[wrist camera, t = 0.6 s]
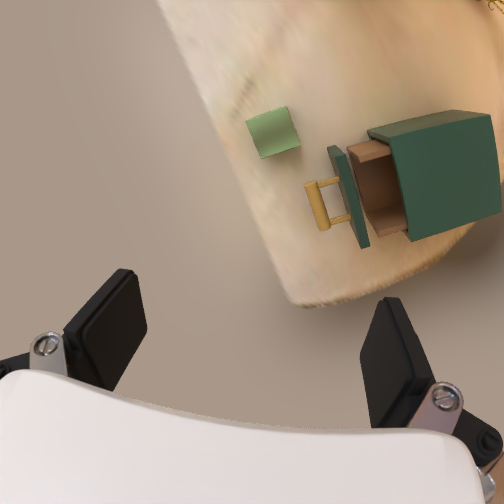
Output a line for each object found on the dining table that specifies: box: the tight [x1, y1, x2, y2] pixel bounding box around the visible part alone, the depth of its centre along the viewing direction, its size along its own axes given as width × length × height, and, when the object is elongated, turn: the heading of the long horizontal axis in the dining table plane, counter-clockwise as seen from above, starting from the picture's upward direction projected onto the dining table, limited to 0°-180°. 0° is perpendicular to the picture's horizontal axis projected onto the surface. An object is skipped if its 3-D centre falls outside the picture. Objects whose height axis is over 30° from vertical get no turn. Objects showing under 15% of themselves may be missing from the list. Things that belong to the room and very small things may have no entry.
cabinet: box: [367, 110, 502, 242], centre depth 30 cm, size 15×13×10 cm
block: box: [245, 106, 301, 159], centre depth 34 cm, size 5×5×5 cm
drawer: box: [304, 139, 408, 249], centre depth 33 cm, size 18×11×8 cm, turn 112°
